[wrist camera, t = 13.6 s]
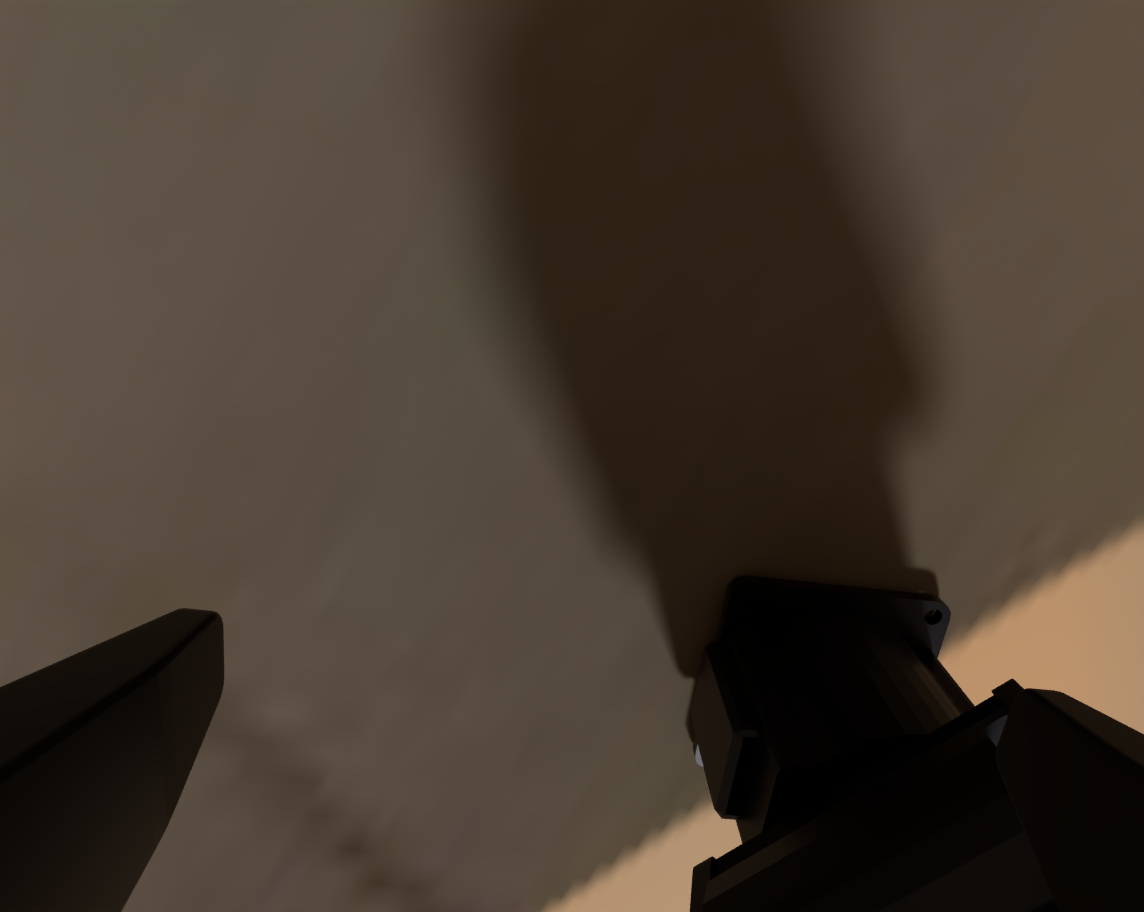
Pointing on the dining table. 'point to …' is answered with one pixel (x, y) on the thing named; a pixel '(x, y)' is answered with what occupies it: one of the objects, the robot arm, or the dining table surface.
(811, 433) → the dining table surface
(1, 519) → the dining table surface
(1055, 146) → the dining table surface
